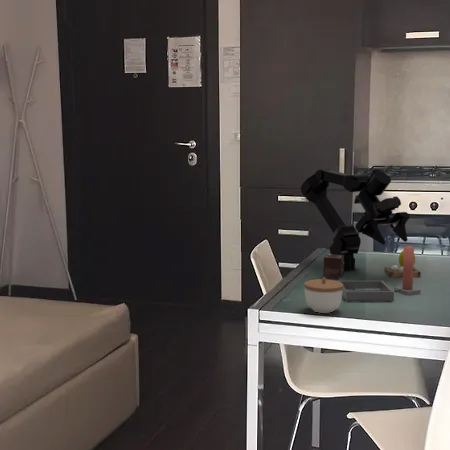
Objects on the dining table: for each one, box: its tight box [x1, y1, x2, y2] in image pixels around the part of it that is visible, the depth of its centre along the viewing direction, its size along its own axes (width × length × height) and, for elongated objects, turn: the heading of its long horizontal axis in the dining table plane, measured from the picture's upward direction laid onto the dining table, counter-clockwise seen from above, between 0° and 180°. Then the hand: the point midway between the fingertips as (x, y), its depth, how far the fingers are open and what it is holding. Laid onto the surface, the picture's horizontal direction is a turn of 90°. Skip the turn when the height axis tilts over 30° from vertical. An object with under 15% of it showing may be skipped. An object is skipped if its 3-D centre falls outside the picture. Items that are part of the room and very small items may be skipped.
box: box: [322, 253, 345, 280], centre depth 239 cm, size 6×6×7 cm
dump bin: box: [338, 280, 395, 302], centre depth 214 cm, size 14×14×3 cm
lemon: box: [398, 249, 416, 267], centre depth 248 cm, size 6×6×8 cm
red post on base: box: [393, 245, 421, 296], centre depth 218 cm, size 6×5×14 cm
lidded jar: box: [303, 277, 343, 313], centre depth 198 cm, size 11×11×9 cm
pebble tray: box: [383, 266, 422, 278], centre depth 239 cm, size 10×8×2 cm
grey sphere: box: [390, 264, 400, 272], centre depth 240 cm, size 3×3×3 cm
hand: (395, 242), depth 224 cm, fingers open, 9 cm apart
